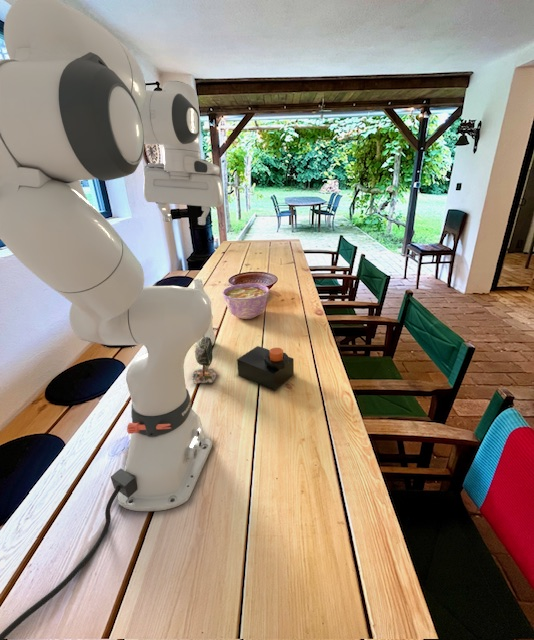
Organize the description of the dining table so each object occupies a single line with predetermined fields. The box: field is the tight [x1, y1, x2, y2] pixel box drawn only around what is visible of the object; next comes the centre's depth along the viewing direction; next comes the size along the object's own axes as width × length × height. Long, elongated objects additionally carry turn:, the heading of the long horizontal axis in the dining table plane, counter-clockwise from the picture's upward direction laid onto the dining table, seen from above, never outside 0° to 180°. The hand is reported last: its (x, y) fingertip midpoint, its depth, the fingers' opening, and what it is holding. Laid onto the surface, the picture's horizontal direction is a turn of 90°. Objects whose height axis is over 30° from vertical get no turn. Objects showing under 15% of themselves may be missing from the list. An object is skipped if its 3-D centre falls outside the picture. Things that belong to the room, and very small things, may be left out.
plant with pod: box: [191, 337, 218, 385], centre depth 97 cm, size 8×11×20 cm
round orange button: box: [269, 347, 284, 362], centre depth 93 cm, size 4×4×2 cm
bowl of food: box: [222, 283, 270, 320], centre depth 140 cm, size 20×20×12 cm
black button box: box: [236, 345, 295, 392], centre depth 98 cm, size 15×10×8 cm
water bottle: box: [192, 278, 216, 347], centre depth 114 cm, size 7×7×25 cm
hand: (184, 223), depth 84 cm, fingers open, 8 cm apart
